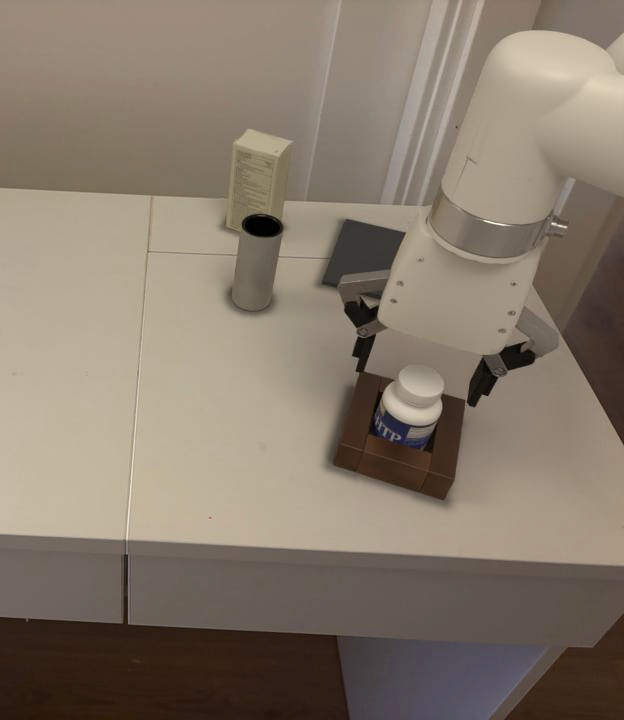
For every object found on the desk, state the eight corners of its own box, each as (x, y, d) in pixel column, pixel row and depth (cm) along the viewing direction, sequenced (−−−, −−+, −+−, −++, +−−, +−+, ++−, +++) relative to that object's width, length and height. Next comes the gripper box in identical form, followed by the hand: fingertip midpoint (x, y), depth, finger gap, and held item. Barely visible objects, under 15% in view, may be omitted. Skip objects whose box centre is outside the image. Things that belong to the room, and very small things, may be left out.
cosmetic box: (281, 226, 97) (296, 141, 89) (266, 243, 95) (280, 157, 86) (238, 211, 100) (248, 126, 91) (222, 227, 97) (232, 141, 88)
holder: (455, 421, 74) (466, 399, 72) (443, 500, 67) (454, 479, 65) (353, 391, 77) (360, 369, 74) (332, 464, 70) (339, 443, 68)
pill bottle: (357, 429, 73) (379, 366, 67) (402, 415, 74) (428, 352, 68) (388, 470, 70) (414, 408, 63) (435, 455, 71) (465, 392, 65)
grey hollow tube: (253, 281, 89) (264, 208, 82) (278, 302, 86) (292, 228, 79) (223, 295, 87) (232, 221, 80) (248, 316, 85) (260, 242, 77)
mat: (455, 247, 95) (456, 244, 94) (442, 315, 85) (443, 311, 85) (345, 222, 98) (346, 218, 98) (321, 284, 89) (322, 280, 89)
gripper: (613, 219, 54) (520, 379, 66) (375, 164, 58) (328, 324, 70) (617, 278, 49) (515, 440, 61) (356, 214, 53) (310, 377, 66)
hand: (415, 378), depth 66 cm, fingers open, 9 cm apart
